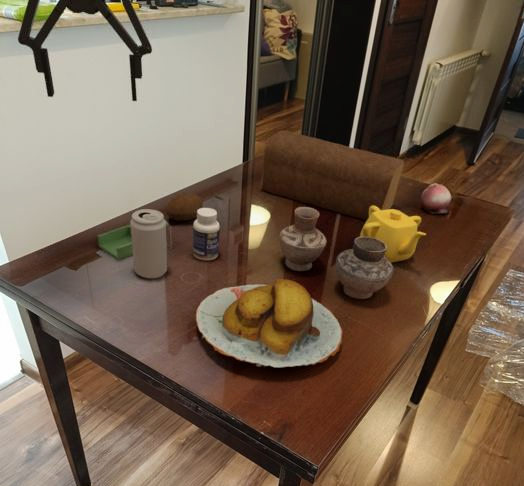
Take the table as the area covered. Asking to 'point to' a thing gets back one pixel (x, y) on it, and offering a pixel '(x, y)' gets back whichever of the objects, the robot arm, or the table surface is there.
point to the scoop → (118, 242)
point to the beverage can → (149, 243)
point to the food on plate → (269, 325)
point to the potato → (184, 207)
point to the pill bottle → (206, 234)
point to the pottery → (347, 262)
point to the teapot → (393, 232)
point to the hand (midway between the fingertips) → (93, 97)
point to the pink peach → (435, 199)
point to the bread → (329, 174)
